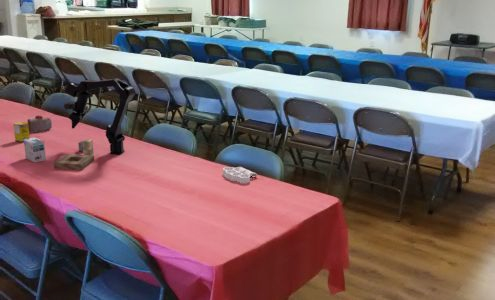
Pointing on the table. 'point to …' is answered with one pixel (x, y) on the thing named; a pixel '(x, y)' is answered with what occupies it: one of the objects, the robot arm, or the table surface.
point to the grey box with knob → (39, 124)
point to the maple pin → (88, 147)
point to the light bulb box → (34, 149)
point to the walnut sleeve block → (74, 161)
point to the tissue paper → (238, 174)
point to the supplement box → (21, 131)
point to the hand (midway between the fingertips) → (75, 125)
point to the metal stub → (80, 146)
